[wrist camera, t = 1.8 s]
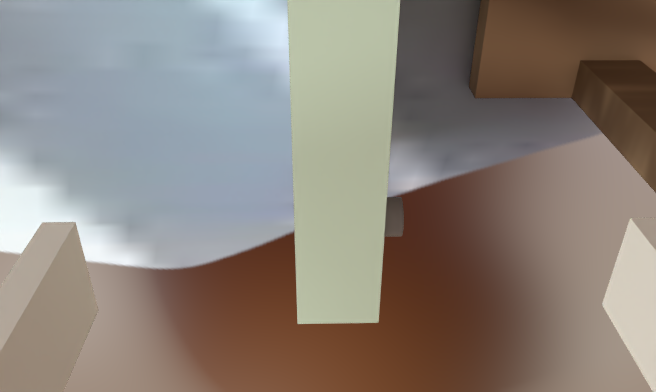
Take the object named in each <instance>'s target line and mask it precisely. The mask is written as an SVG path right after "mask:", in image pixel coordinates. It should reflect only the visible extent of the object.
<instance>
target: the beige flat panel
mask: <svg viewBox="0 0 656 392" xmlns="http://www.w3.org/2000/svg"><path fill="white" fill-rule="evenodd" d="M399 11H400V0H288V32H289V64H290V96H291V128H292V160H293V192H294V224H295V253H296V254H295V256H296V287H297V318H298V319H297V320H298V324H313V323H377V322H378V320H379V305H380V291H381V276H382V261H383V247H384V236H402V233H403V225H404V213H403V203H402V198H401V197H387V188H388V173H389V159H390V144H391V129H392V114H393V100H394V85H395V70H396V56H397V41H398V26H399Z"/></svg>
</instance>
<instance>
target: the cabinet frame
mask: <svg viewBox="0 0 656 392" xmlns="http://www.w3.org/2000/svg"><path fill="white" fill-rule="evenodd" d="M469 88H470V90H471V92H472V93H473V95H474V97H475V98H572V99H573V100H574V101H575V102H576V103H577V104H578V106H579V107H580V108H581V109H582V110H583V111H584V112H585V113H586V115H587V116H588V117H589V118H590V119H591V120H592V121H593V122H594V124H595V125H596V126H597V127H598V128H599V129H600V130H601V131H602V133H603V134H604V135H605V136H606V137H607V138H608V139H609V140H610V142H611V143H612V144H613V145H614V146H615V147H616V148H617V149H618V151H620V153H621V154H622V155H623V156H624V157H625V159H626V160H627V161H628V162H629V163H630V164H631V165H632V166H633V168H634V169H635V170H636V171H637V172H638V173H639V174H640V175H641V177H642V178H643V179H644V180H645V181H646V182H647V183H648V184H649V186H650V187H651V188H652V189H653V190H654V191H655V192H656V0H481V3H480V10H479V17H478V24H477V31H476V39H475V46H474V53H473V60H472V67H471V75H470V82H469Z"/></svg>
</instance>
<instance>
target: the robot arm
mask: <svg viewBox="0 0 656 392" xmlns="http://www.w3.org/2000/svg"><path fill="white" fill-rule="evenodd" d="M602 306H603V307H604V309H605V311H606V312H607V314H608V316H609V317H610V319H611V321H612V323H613V324H614V326H615V328H616V329H617V331H618V333H619V335H620V336H621V338H622V340H623V341H624V343H625V345H626V347H627V348H628V350H629V352H630V353H631V355H632V357H633V358H634V360H635V362H636V364H637V365H638V367H639V368H640V370H641V372H642V374H643V376H644V377H645V379H646V380H647V382H648V384H649V386H650V387H651V389H652V391H653V392H656V218H630V220H629V223H628V226H627V230H626V233H625V236H624V239H623V242H622V245H621V248H620V251H619V254H618V257H617V260H616V263H615V266H614V269H613V272H612V275H611V279H610V281H609V285H608V288H607V291H606V294H605V297H604V300H603V303H602ZM97 312H98V306H97V302H96V299H95V295H94V291H93V287H92V284H91V280H90V276H89V272H88V268H87V265H86V261H85V257H84V253H83V250H82V246H81V242H80V238H79V235H78V231H77V227H76V223H75V222H54V223H42V224H41V225H40V227H39V228H38V230H37V231H36V233H35V234H34V236H33V237H32V239H31V240H30V242H29V243H28V245H27V247H26V248H25V250H24V251H23V253H22V254H21V256H20V257H19V259H18V260H17V262H16V263H15V265H14V266H13V268H12V269H11V271H10V272H9V274H8V275H7V277H6V278H5V280H4V282H3V283H2V285H1V286H0V392H63V391H64V389H65V387H66V384H67V382H68V380H69V377H70V375H71V373H72V370H73V368H74V365H75V363H76V361H77V359H78V357H79V354H80V352H81V350H82V347H83V345H84V342H85V340H86V338H87V336H88V333H89V331H90V329H91V326H92V324H93V322H94V319H95V317H96V315H97Z"/></svg>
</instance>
